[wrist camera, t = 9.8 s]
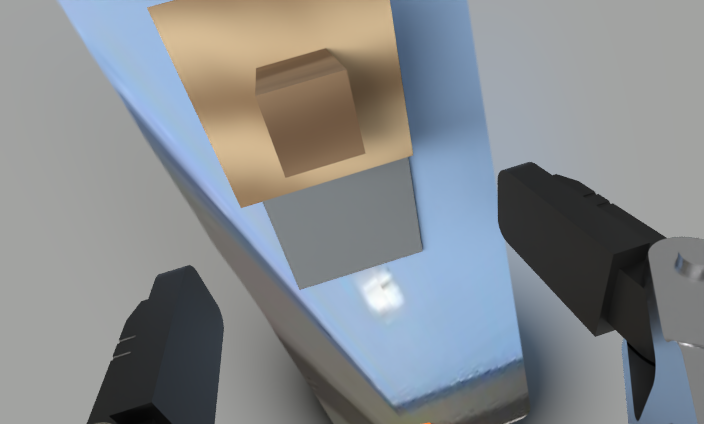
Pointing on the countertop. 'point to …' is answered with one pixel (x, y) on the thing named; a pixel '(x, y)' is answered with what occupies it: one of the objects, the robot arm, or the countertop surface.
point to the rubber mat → (347, 223)
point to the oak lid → (290, 87)
